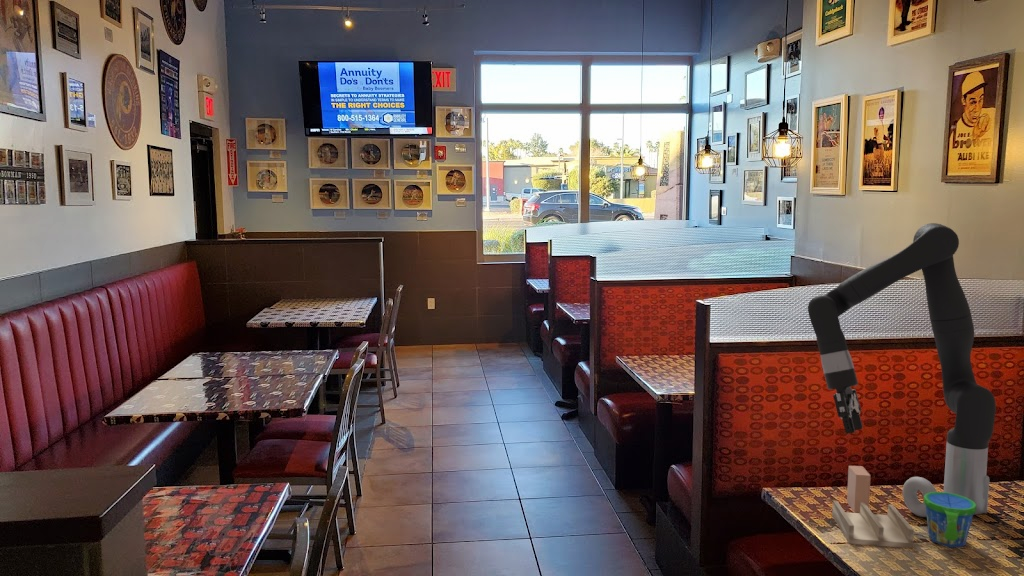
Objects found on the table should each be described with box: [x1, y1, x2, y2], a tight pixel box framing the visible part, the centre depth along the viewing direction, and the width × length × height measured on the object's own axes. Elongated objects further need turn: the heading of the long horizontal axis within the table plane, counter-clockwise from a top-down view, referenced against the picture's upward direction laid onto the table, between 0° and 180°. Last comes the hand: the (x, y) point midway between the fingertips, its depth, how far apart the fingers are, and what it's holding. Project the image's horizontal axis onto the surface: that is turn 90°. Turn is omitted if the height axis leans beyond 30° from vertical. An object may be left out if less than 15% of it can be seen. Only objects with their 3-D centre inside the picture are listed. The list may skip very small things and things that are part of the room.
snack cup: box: [923, 491, 976, 548], centre depth 176 cm, size 16×10×10 cm
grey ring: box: [902, 476, 938, 518], centre depth 191 cm, size 10×4×10 cm, turn 18°
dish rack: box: [831, 500, 915, 549], centre depth 182 cm, size 14×16×4 cm
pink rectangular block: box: [846, 465, 871, 513], centre depth 196 cm, size 4×7×10 cm, turn 170°
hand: (854, 431), depth 195 cm, fingers open, 8 cm apart
